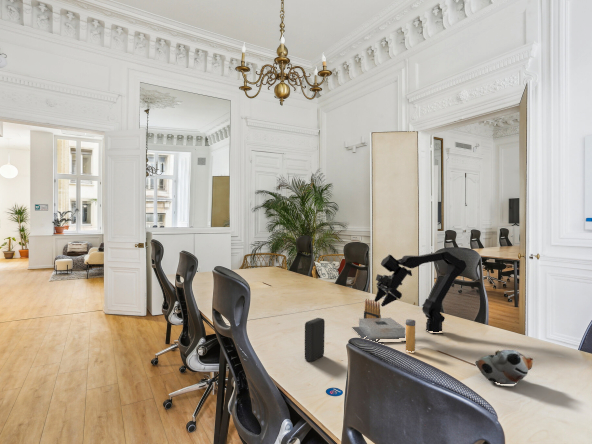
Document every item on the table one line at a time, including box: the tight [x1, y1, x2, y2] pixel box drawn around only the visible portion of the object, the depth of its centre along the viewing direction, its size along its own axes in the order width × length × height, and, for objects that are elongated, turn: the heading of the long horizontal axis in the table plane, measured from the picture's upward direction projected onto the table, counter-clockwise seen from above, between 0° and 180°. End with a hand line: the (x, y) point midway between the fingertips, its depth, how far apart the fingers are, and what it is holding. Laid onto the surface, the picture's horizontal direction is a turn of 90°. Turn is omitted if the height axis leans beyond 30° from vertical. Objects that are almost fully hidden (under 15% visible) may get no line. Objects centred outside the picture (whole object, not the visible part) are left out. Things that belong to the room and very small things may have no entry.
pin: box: [405, 318, 416, 352], centre depth 141 cm, size 4×4×13 cm
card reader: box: [304, 317, 326, 362], centre depth 133 cm, size 9×4×15 cm, turn 141°
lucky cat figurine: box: [474, 349, 534, 384], centre depth 115 cm, size 15×12×14 cm
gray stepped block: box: [351, 317, 406, 344], centre depth 162 cm, size 22×22×6 cm
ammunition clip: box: [363, 298, 382, 318], centre depth 182 cm, size 11×2×12 cm, turn 35°
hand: (378, 303), depth 164 cm, fingers open, 9 cm apart
